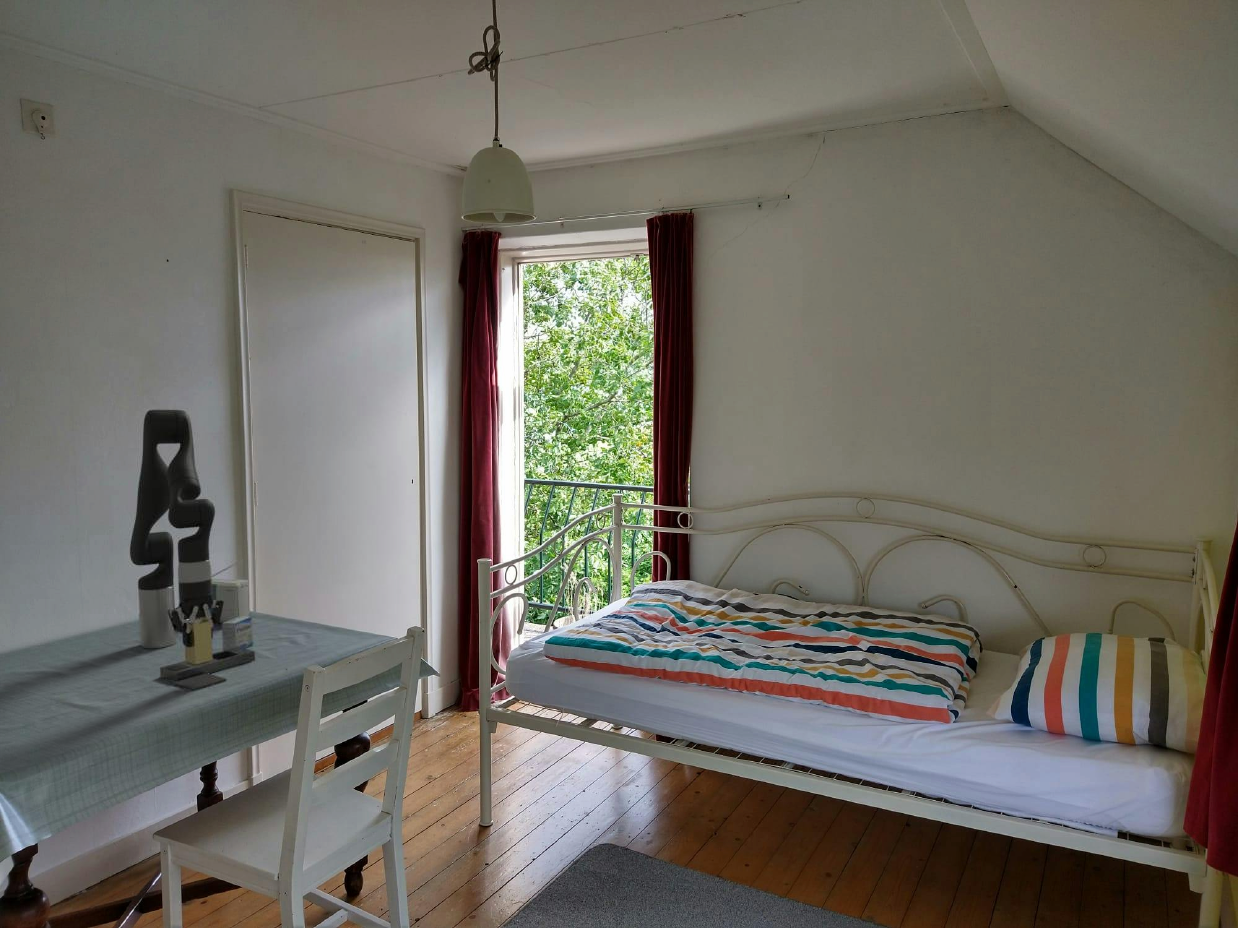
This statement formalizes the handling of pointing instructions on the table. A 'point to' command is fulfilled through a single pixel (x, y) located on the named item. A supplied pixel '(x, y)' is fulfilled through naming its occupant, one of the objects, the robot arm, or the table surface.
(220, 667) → the rail
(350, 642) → the table surface
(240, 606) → the stereo radio cassette player
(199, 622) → the brass block
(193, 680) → the rubber mat
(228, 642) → the medicine box
